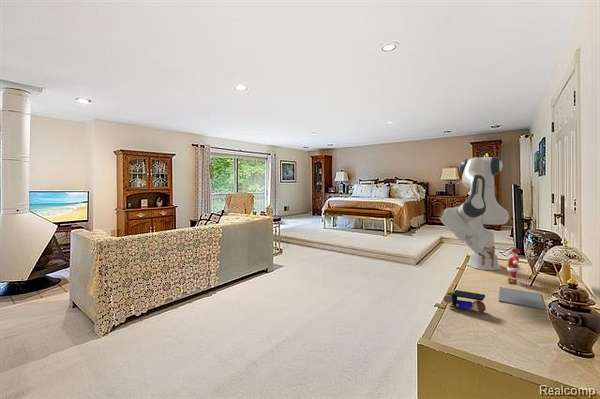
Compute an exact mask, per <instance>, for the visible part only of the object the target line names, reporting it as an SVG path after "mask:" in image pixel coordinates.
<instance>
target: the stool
mask: <svg viewBox="0 0 600 399" xmlns="http://www.w3.org/2000/svg"><path fill="white" fill-rule="evenodd" d="M483 249H484V250H485V251H487V253H489V254H490V257H489V258H488V259H491V267H494V253H495V252H494V248H491V247H484V248H483ZM485 258H487V257H485V256H484V255H483V254H482V265H483V266H484V264H485Z"/></svg>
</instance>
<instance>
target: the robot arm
mask: <svg viewBox="0 0 600 399" xmlns="http://www.w3.org/2000/svg"><path fill="white" fill-rule="evenodd" d="M503 166H504V165H503V161H502V159H501V158H500V157H497V156H492V157H490V156H489V157H488V156H487V157H486V156H481V157H478V156H477V157H475V156H474V157H472V158H466V159H462V161H460V164H459V172H460V174H461V175H462V177H461V182H462V185H463V186H464V187H466V188H467V189H470V190H469V196H468V197H467V198H466V199H465V201H464V202H463V203H462V204H460V205H459V206H454V207H446V208H445V209H444V210H443V211H442V212H441V214H440V215H439V220H440V222H441V223H442V225H444V226H445V227H446V228H447V229H448V230H449V231H451V232H452V233H453V234H454V236H455V237H456V238H457V239H458V240H459V241H460V242H461V243H465V244H466V245H467V246H468V247H469V248H470V249H471V251H472V252H470V253H469V262H466V266H468V267H471V268H474V269H476V270H483V271H496V270H498V271H499V270H502V267H501V266H500V264H499V260H498V255H497V254H496V246H495V235H494V233H493V232H492V231H490V230H489V229H487V228H485V226H484V225H494V226H497V225H505V224H507V222H508V221H509V219H510V213H509V211H508V210H507V209H506V208H504V207H502V206H501V204H499V202H498V200H497V199H496V194H495V178H494V177H496V176H497V175H498V174H500V173H501V172H502V169H503ZM484 247H491V248H494V267H491V259H488V258H489V257H490V254H489V253H487V251H485V250H484V249H483V248H484ZM482 254H483V255H484V256H485V257H487V258H485V264H484V266H483V265H482Z"/></svg>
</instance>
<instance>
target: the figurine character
mask: <svg viewBox="0 0 600 399" xmlns="http://www.w3.org/2000/svg"><path fill="white" fill-rule="evenodd" d="M458 297H459V298H462V299H469V300H462V299H461V300H460V299H458ZM485 297H486V294H483V293H476V292H471V291H465V290H464V291H463V290H457V289H455V290H454V292H453V291H449V292H447V293H446V295H444V297H443V301H444V302H446V303H447V304H451V305H449V308H456V309H457V308H460V309H467V310H473V311H474V312H475V313H478V314H482V313H484V312H485V311H486V304H485V303H484V302H483V301H484V299H485ZM470 300H473V302H472V301H470Z"/></svg>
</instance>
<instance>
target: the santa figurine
mask: <svg viewBox="0 0 600 399" xmlns="http://www.w3.org/2000/svg"><path fill="white" fill-rule="evenodd" d="M520 253H521V251H520V250H519V249H518V248H511V249H509V252H508V256H507V265H506V266H507V267H506V269H507V272H509V275H510V276H511V277H508V278H507V280H508V281H507V283H508V284H510V285H518V283H517V280H518V275H517V273H518V272H520V271H521V266H519V261H520V257H519V256H518V254H520Z"/></svg>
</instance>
